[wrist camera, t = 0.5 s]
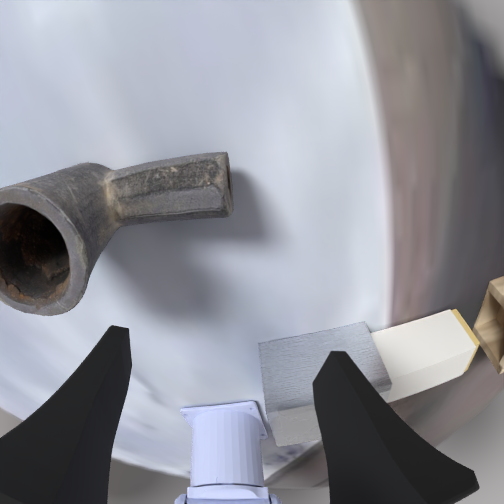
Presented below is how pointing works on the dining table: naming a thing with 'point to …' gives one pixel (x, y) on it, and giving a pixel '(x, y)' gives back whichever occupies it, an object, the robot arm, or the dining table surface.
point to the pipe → (94, 221)
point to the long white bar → (425, 352)
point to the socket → (492, 324)
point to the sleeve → (311, 377)
